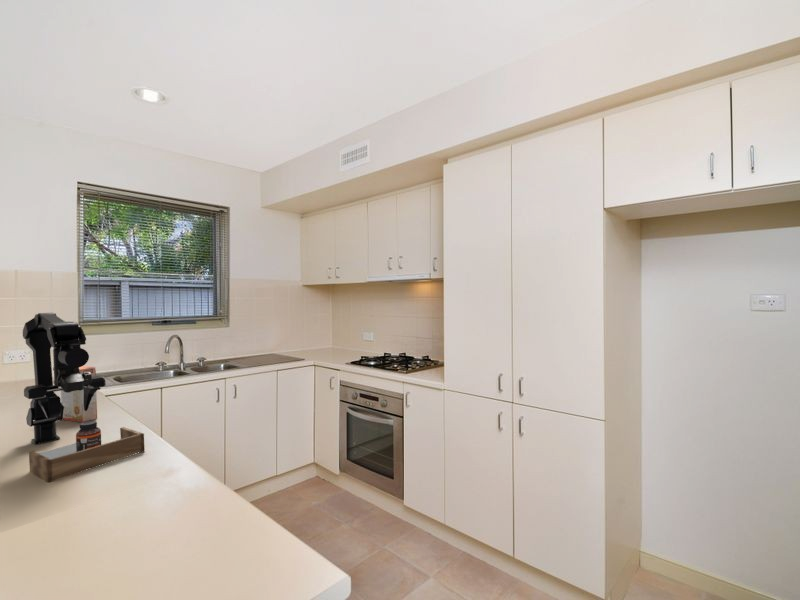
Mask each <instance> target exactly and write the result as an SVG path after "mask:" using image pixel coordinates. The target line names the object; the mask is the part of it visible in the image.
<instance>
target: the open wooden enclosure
mask: <svg viewBox="0 0 800 600" xmlns="http://www.w3.org/2000/svg"><path fill="white" fill-rule="evenodd" d="M119 430H120V431H119V433H120V439H117V440H114V441H110V442H107V443H104V444H101V445H99V446H96V447H92V448H89V449H85V450H82V451H78V452H75V453H71V454H68V455H64V456H61V457H57V458H54V459H48V458H46V457H44V456H42V455H40V454H38V453H39V452H36V451H34V450H33V451H30V452H28V462H29V464H28V465H29V473H31V474H32V475H34V476H36V477H38V478H39V479H41V480H43V481H44V482H46V483H51V482H54V481H57V480H60V479H63V478H65V477H69V476H73V475H75V473H76V474H78V472H79V473H82V472H85V471H87V470H86V469H88V470H90V469H89V468H91V469H94V468H96V466H97V467H100V466H102V464H103V465H106V464H109V463H111V461H113V462H115V461H114V460H116V461H118V460H117V459H119V460H122V459H124V457H125V458H128V457H131V456H133V454H134V455H136V454H135V453H137V454H139V453H138V452H140V453H142V452H141V451H143V452H145V451H144V450H145V433H143V432H141V431H137V430H134V429H130V428H127V427H125V426H122V427H120V428H119ZM130 455H131V456H130ZM127 456H128V457H127ZM121 458H122V459H121ZM108 462H109V463H108ZM105 463H106V464H105ZM99 465H100V466H99ZM93 467H94V468H93ZM84 470H85V471H84ZM81 471H82V472H81Z"/></svg>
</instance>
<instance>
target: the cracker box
mask: <svg viewBox="0 0 800 600" xmlns="http://www.w3.org/2000/svg"><path fill="white" fill-rule="evenodd" d="M96 370H97V369H96V367H95V366H87V365H86V366H85V365H83V366H82V367H79V372H80V374H83V373H86V372H90V373H91V374H92V376H97V375H96V374H97V372H96ZM85 387H86V386H85ZM97 396H98V395H97V391H96V392H95V393H94V395H93V397H92V399H91V401H90V404H89V407H88V409H87V411H85V410H84V389H83V390H80V391H79V390H77V391H72V392H68V393H67V392H64V391H63V390H61V391H60V401H61V403H62V405H63V406H64V411H63V419H62V420H65V421H71V422H76V423H80V424H81V423H83V422H87V421H96V420H97V419H98V401H97V398H98V397H97Z"/></svg>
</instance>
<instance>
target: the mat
mask: <svg viewBox="0 0 800 600" xmlns="http://www.w3.org/2000/svg"><path fill="white" fill-rule="evenodd" d="M75 452H76V442H75V443H71V444H66V445H63V446H59V447H56V448H53V449H49V450H45V451H41V452H37V453H38V454H40V455H42V456H44V457H46V458H48V459H54V458H57V457H61V456H64V455H68V454H71V453H75Z"/></svg>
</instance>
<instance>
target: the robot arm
mask: <svg viewBox="0 0 800 600" xmlns="http://www.w3.org/2000/svg"><path fill="white" fill-rule="evenodd" d="M22 337H23V340H24V339H25V344H26V345H27V346H28V347H29V349H30V350H31V351H32V357H33V358H32V359H33V371H34V385H29V386H25V387H24V389H23V396H24V397H25V398H27V399H29V400H31V401H30V403H29V404H30V407H29V408H28V410H27V415H26V419H25V420H26V424H27V426H29V427H31V428H32V427H33V434H34V435H33V437H34V438H32V439H31V442H32V444H33V445H40V444H44V443H48V442H53V441H57V440H60V439H61V437H60V436H58V435H57V422H58V421H62V420H64V419H63V411H64V406H63V405H62V403H61V396H59V395H57V394H56V392H61V390H63V391H64V392H67V393H68V392H72V391H77V390H79V391H80V390H83V389H84V410H85V411H87V409H88V407H89V404H90V401H91V399H92V397H93V395H94V393H95V392H96V393H97V391H100V390H101V388H102V387H103V388H104V387H106V385H107V384H106V379H105V378H104V377H103V376H100V375H96V376H92V374H91V373H90V372H86V373H83V374H80V372H79V367H82V366H85V365H86V364H87V363H88V361H89V358H90V354H89V353H88V351H87V350H86V349H84V348H81V346H83V345H86V341H87V337H86V334H85V332H84V330H83V328H82V326H81V325H80V324H79V323H78V322H77V321H65V320H64V319H62V318H60V317H59V316H57V314H56V313H55V312H42V313H41V312H38V313H35V315H34V317H33V318H31V319H29V320H28V321H27V322H25V324H24V325H23V329H22ZM52 348H53V349H52ZM51 349H52V354H53V367H52V356H51V355H52V354H51ZM85 386H86V387H85Z"/></svg>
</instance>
